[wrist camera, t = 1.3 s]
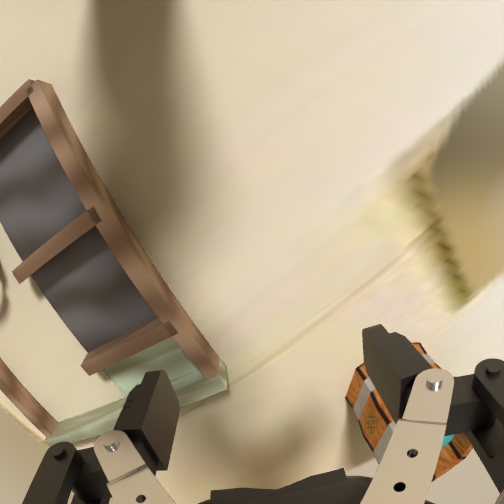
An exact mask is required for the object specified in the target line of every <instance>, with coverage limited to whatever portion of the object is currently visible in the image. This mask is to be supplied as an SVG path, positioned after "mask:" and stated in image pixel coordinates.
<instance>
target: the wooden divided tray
mask: <svg viewBox="0 0 504 504" xmlns="http://www.w3.org/2000/svg"><path fill="white" fill-rule="evenodd" d="M0 222H1V224H2V226H3V228H4V230H5V232H6V233H7V235H8V237H9V239H10V241H11V242H12V244H13V246H14V248H15V249H16V251H17V253H18V254H19V256H20V258H21V259H22V261H23V262H22V263H21V264H20V265H19V266H18V267H17V268H15V269H14V270H13V271H12V273H13V275H14V276H15V278H16V279H17V281H18V282H19V284H20V283H22V282H23V281H24V280H25V279H27V278H28V277H29V276H32V277H33V279H34V280H35V282H36V283H37V285H38V286H39V288H40V289H41V291H42V292H43V294H44V295H45V297H46V298H47V300H48V301H49V302H50V304H51V305H52V307H53V308H54V309H55V311H56V312H57V314H58V315H59V316H60V318H61V319H62V320H63V322H64V323H65V324H66V326H67V327H68V328H69V330H70V331H71V332H72V334H73V335H74V336H75V337H76V339H77V340H78V341H79V342H80V344H81V345H82V346H83V347H84V349H85V350H86V351H87V352H88V353H87V355H86V357H85V359H84V360H83V362H82V364H81V367H82V368H83V369H84V370H85V371H86V373H87V374H88V375H89V376H90V375H92V374H94V373H97V372H99V371H101V370H103V371H104V372H105V373H106V374H107V375H108V377H109V378H110V379H111V380H112V381H113V382H114V383H115V384H116V385H117V386H118V387H119V389H120V390H121V391H122V392H123V393H124V394H125V395H126V396H128V394H129V392H130V391H131V390H132V389H133V388H134V387H135V386H136V385H137V384H141V382H142V380H143V377H144V375H145V373H146V372H149V371H157V370H165V372H166V373H167V375H168V377H169V380H170V382H171V384H172V387H173V389H174V391H175V393H176V396H177V398H178V401H179V407H180V408H182V407H184V406H187V405H190V404H192V403H195V402H197V401H200V400H202V399H205V398H207V397H210V396H212V395H214V394H217V393H219V392H222V391H224V390H226V389H227V367H226V366H225V364H224V363H223V362H222V360H221V359H220V358H219V356H218V355H217V354H216V353H215V351H214V350H213V349H212V347H211V346H210V345H209V343H208V342H207V341H206V339H205V338H204V337H203V335H202V334H201V332H200V331H199V330H198V328H197V327H196V326H195V324H194V323H193V322H192V320H191V319H190V317H189V316H188V315H187V313H186V312H185V310H184V309H183V308H182V306H181V305H180V303H179V302H178V300H177V299H176V298H175V296H174V295H173V293H172V292H171V290H170V289H169V287H168V286H167V284H166V283H165V282H164V280H163V279H162V277H161V276H160V274H159V273H158V271H157V270H156V268H155V267H154V265H153V264H152V262H151V261H150V259H149V257H148V256H147V254H146V253H145V251H144V250H143V248H142V247H141V245H140V244H139V242H138V240H137V239H136V237H135V236H134V234H133V232H132V231H131V229H130V228H129V226H128V224H127V223H126V221H125V220H124V218H123V216H122V215H121V213H120V211H119V210H118V208H117V206H116V205H115V203H114V201H113V200H112V198H111V196H110V194H109V193H108V191H107V189H106V188H105V186H104V184H103V182H102V181H101V179H100V177H99V175H98V174H97V172H96V170H95V168H94V166H93V165H92V163H91V161H90V159H89V157H88V156H87V154H86V152H85V150H84V148H83V146H82V144H81V143H80V141H79V139H78V137H77V135H76V133H75V131H74V129H73V127H72V125H71V123H70V121H69V119H68V117H67V115H66V113H65V111H64V109H63V107H62V105H61V103H60V101H59V99H58V97H57V95H56V93H55V91H54V89H53V87H52V84H49V83H46V82H43V81H40V80H36V81H33V80H30V79H29V80H28V81H26V82H25V83H24V84H23V85H22V86H21V87H20V88H19V89H18V90H17V91H16V92H15V93H14V94H13V95H12V96H11V97H10V98H9V99H8V100H7V101H6V102H5V103H4V104H3V105H2V106H1V107H0ZM0 389H1V391H2V392H3V393H4V394H5V395H6V396H7V397H8V398H9V400H10V401H11V402H12V403H13V404H14V405H15V406H16V407H17V408H18V409H19V410H20V411H21V412H22V414H23V415H24V416H25V417H26V418H27V419H28V420H29V421H30V422H31V423H32V424H33V425H34V426H35V427H36V428H37V429H39V430H40V431H41V432H42V433H43V434H44V435H45V436H46V439H45V442H46V443H47V444H48V445H49V446H50V447H51V446H52V445H54V444H56V443H59V442H64V441H66V442H70V443H74V442H77V441H81V440H85V439H88V438H92V437H95V436H99V435H102V434H104V433H106V432H109V431H113V429H114V426H115V424H116V422H117V419H118V417H119V415H120V412H121V410H122V409H123V405H124V403H125V402H126V399H127V397H126V398H124V399H121V400H119V401H116V402H113V403H111V404H108V405H105V406H103V407H100V408H97V409H95V410H92V411H89V412H86V413H84V414H81V415H78V416H75V417H72V418H69V419H66V420H64V421H61V422H57V421H56V420H55V419H54V418H53V417H52V416H51V415H50V414H49V413H48V412H47V411H46V410H45V409H44V408H43V407H42V406H41V405H40V404H39V403H38V402H37V401H36V399H35V398H34V397H33V396H32V395H31V394H30V393H29V392H28V391H27V390H26V388H25V387H24V386H23V385H22V384H21V383H20V382H19V380H18V379H17V378H16V377H15V376H14V375H13V373H12V372H11V371H10V370H9V368H8V367H7V366H6V365H5V364H4V362H3V361H2V360H1V358H0Z"/></svg>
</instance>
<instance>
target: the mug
mask: <svg viewBox="0 0 504 504" xmlns="http://www.w3.org/2000/svg"><path fill="white" fill-rule="evenodd" d="M411 344H412V345H413V346H414V347H415V348H416V350H418V351H419V352H420V354H421V355H422V356H423V357H424V358H425V359H426V360H427V361H428V363H429V364H430V365H431V366H432V367H433V368H438V369H441V368H440V367H439V366H438V365H437V364H436V363H435V362H434V361H433V360H432V359H431V358H430V356H429V355H428V354H427V353H426V351H425V350H424V348H423V347H422V345H421V343H411ZM345 398H346V400H347V401H348V402H349V404H350V405H351V407H352V408H353V410H354V412H355V414H356V416H357V419H358V421H359V424H360V427H361V430H362V433H363V437H364V438H365V440H366V442H367V443H368V445H369V446H370V448H371V450H372V451H373V453H374V455H375V458H376V460H377V462H378V464H379V465H380V462H381V460H382V458H383V456H384V453H385V451H386V449H387V446H388V444H389V441H390V439H391V437H392V434H393V432H394V429H395V426H396V424H395V422H394V420H393V419H392V417H391V415H390V413H389V411H388V410H387V408H386V406H385V404H384V402H383V401H382V399H381V397H380V395H379V394H378V392H377V390H376V388H375V387H374V385H373V383H372V381H371V380H370V378H369V376H368V374H367V372H366V369H365V365H364V363H363V364H361V365H360V366H359V367H357V368H356V370H355V373H354V375H353V378H352V381H351V384H350V387H349V389H348V392H347V395H346V397H345ZM472 449H473V446H472V445H471V443H470V442H469V440H468V438H467V437H466V435H465V434H464V433H460V434H454V435H448V436H444V438H443V443H442V447H441V450H440V454H439V458H438V462H437V465H436V469H435V472H434V475H433V478H432V481H434V480H435V479H437V478H438V477H440V476H441V475H443V474H444V473H446V472H447V471H449V470H450V469H451V468H453V467H454V466H455V465H457V464H458V463H459V462H461V461H462V460H463V459H465V458H466V456H467V455H468V454H469V453H470V451H471V450H472Z"/></svg>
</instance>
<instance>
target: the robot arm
mask: <svg viewBox="0 0 504 504" xmlns="http://www.w3.org/2000/svg"><path fill="white" fill-rule="evenodd" d="M362 337H363V353H364V365H365V369H366V372H367V374H368V376H369V378H370V380H371V381H372V383H373V385H374V387H375V388H376V390H377V392H378V394H379V395H380V397H381V399H382V401H383V402H384V404H385V406H386V408H387V410H388V411H389V413H390V415H391V417H392V419H393V420H394V422H395V424H396V426H395V429H394V432H393V434H392V437H391V439H390V441H389V444H388V446H387V449H386V451H385V453H384V456H383V458H382V460H381V462H380V465H379V467H378V469H377V471H376V473H375V476H374V478H370V477H363V476H346V474H345V471H344V468H342V469H338V470H334V471H330V472H326V473H322V474H318V475H314V476H310V477H308V478H305V479H303V480H301V481H298V482H296V483H293V484H291V485H288V486H286V487H283V488H280V489H274V490H273V489H254V488H235V489H225V490H212V491H211V497H210V500H206V501H204V502H201V503H199V504H434V503H432V502H429V501H427V500H426V497H427V494H428V491H429V488H430V485H431V482H432V478H433V475H434V472H435V469H436V465H437V462H438V458H439V454H440V450H441V447H442V443H443V438H444V436H448V435H454V434H460V433H464V434H465V435H466V437H467V438H468V440H469V442H470V443H471V445H472V446H473V448H474V450H475V451H476V453H477V455H478V456H479V458H480V460H481V461H482V463H483V464H484V466H485V468H486V470H487V472H488V473H489V475H490V477H491V479H492V480H493V482H494V484H495V486H496V487H497V489H498V491H499V492H500V495H499V497H498V498H497V500H496V503H495V504H504V361H502V360H499V359H486V360H483V361H481V362H480V363H479V364H478V365H477V366H476V368H475V372H474V374H471V375H466V376H460V377H453V376H452V374H451V373H449V372H448V371H446V370H444V369H438V368H433V367H432V366H431V365H430V364H429V363H428V361H427V360H426V359H425V358H424V357H423V356H422V355H421V354H420V352H419V351H418V350H416V348H415V347H414V346H413V345H412V344H411V342H410V341H409V340H408V339H407V338H406V337H405V336H403V335H401V334H399V333H396V332H394V333H390V334H389V333H388V332H387V330H386V329H385V328H384V327H383V326H382V325H381V324H379V325H375V326H372V327H368V328H365V329H363V331H362ZM179 412H180V407H179V401H178V398H177V396H176V393H175V391H174V389H173V387H172V384H171V382H170V380H169V377H168V375H167V373H166V372H165V370H157V371H149V372H146V373H145V375H144V377H143V380H142V382H141V384H137V385H136V386H135V387H134V388H133V389H132V390H131V391H130V392H129V394H128V396H127V399H126V402H125V403H124V405H123V409H122V410H121V412H120V415H119V417H118V419H117V422H116V424H115V426H114V429H113V431H109V432H106V433H104V434H102V435H101V436H100V437H99V438H98V439H97V440H96V441H95V443H94V447H91V448H87V449H82V450H76V448H75V447H74V445H73V444H72V443H70V442H66V441H64V442H59V443H56V444H54V445H52V446H51V447H50V448H49V449H48V450H47V452H46V454H45V456H44V458H43V460H42V462H41V464H40V466H39V468H38V470H37V472H36V474H35V477H34V479H33V481H32V483H31V485H30V487H29V490H28V492H27V494H26V497H25V499H24V501H23V503H22V504H67V502H68V499H69V496H70V493H71V490H72V491H73V492H74V496H73V500H72V502H71V504H109V500H110V498H111V497H113V499H114V501H115V502H116V504H176V503H175V502H174V501H173V500H172V498H171V497H170V496H169V494H168V493H167V492H166V491H165V489H164V488H163V487H162V485H161V484H160V483H159V481H158V480H157V479H156V477H155V475H156V471H160V470H167V469H168V464H169V459H170V454H171V449H172V445H173V440H174V435H175V430H176V426H177V421H178V417H179Z"/></svg>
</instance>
